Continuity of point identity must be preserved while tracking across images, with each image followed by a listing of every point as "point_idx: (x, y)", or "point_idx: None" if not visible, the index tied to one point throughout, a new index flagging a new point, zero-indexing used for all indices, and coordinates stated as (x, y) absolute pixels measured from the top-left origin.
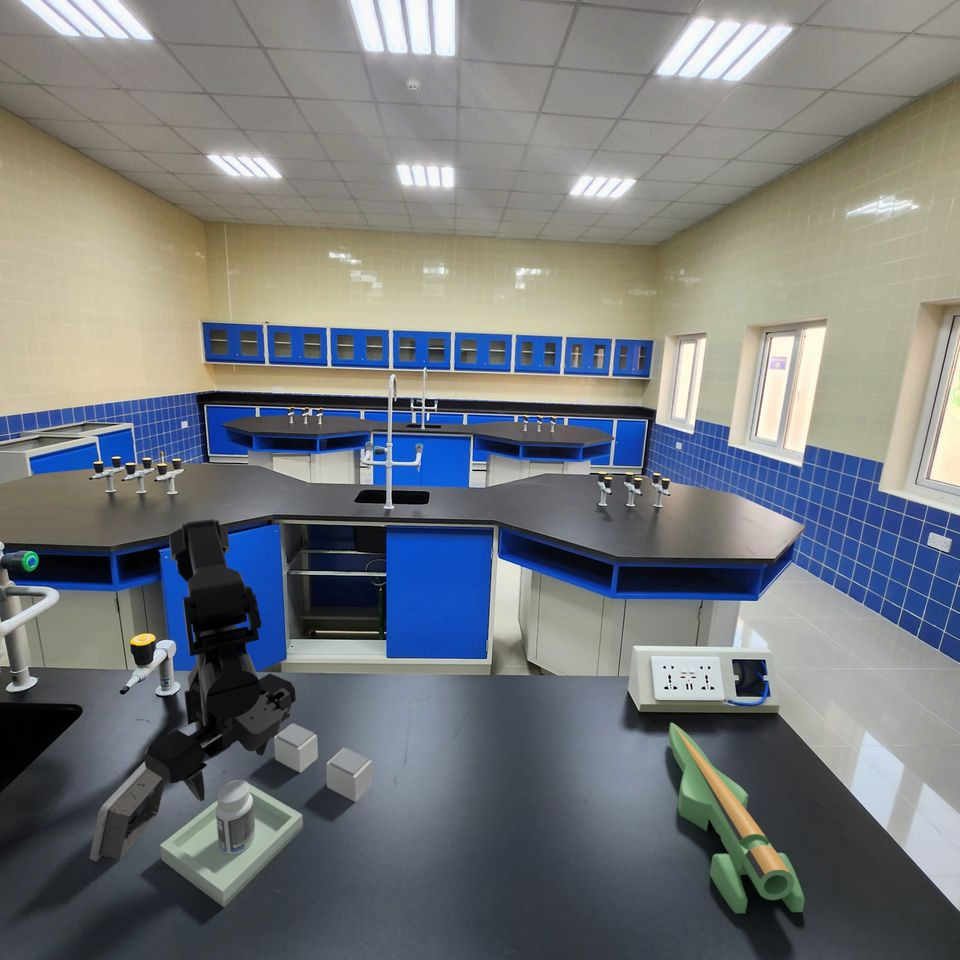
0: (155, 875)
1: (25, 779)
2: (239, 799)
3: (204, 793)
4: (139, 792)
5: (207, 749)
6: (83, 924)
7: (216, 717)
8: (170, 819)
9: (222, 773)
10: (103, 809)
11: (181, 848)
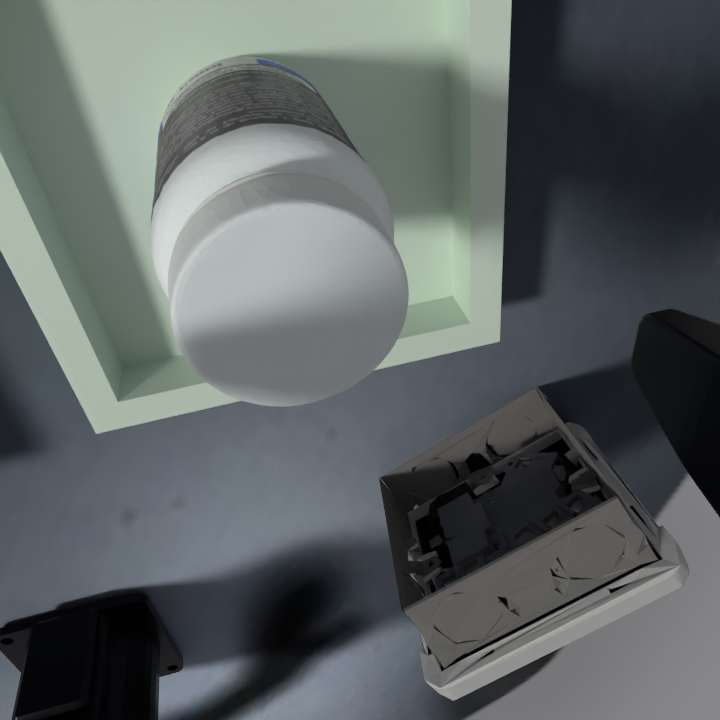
0: (517, 257)
1: (504, 694)
2: (303, 200)
3: (697, 345)
4: (530, 577)
5: (142, 623)
6: (713, 246)
7: None
8: (365, 435)
9: (137, 513)
10: (684, 569)
11: (423, 292)
